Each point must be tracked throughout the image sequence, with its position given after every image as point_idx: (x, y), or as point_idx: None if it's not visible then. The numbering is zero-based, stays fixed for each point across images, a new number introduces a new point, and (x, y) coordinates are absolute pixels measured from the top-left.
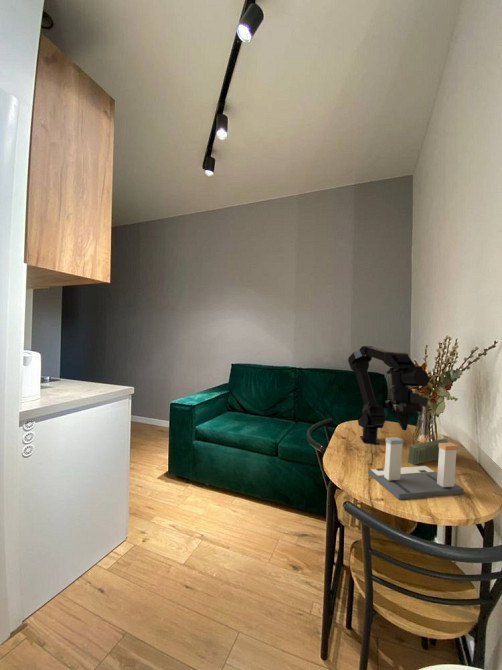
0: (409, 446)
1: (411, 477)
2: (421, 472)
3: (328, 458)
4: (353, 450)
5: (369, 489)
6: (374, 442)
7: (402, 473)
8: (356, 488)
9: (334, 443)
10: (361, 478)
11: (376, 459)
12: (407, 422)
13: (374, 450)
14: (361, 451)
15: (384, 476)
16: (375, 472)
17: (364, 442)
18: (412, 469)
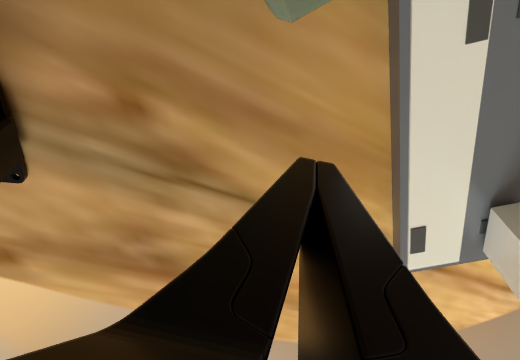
0: (281, 18)
1: (512, 129)
2: (488, 34)
3: (274, 338)
4: (169, 252)
5: (491, 283)
6: (13, 126)
7: (470, 159)
8: (474, 310)
9: (111, 302)
10: (422, 285)
11: (256, 184)
12: (386, 252)
13: (129, 152)
14: (170, 222)
15: (486, 252)
16: (436, 263)
17: (26, 176)
18: (443, 77)
